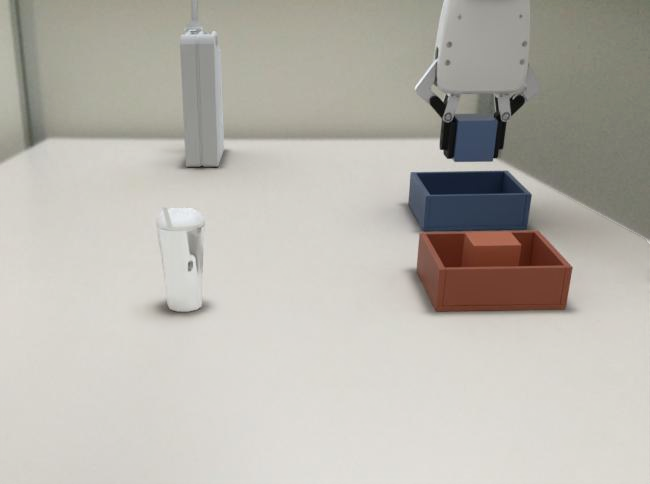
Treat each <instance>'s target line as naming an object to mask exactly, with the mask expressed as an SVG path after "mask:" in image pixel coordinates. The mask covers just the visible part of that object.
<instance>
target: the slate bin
mask: <svg viewBox="0 0 650 484" xmlns="http://www.w3.org/2000/svg"><path fill="white" fill-rule="evenodd" d="M408 189H409V190H408V201H407V202H408V203H407V204H408V207H409V208H410V210H411V212H412V215H414V217H415V219H416V221H417V223H418V225H419V226H420V228H421V230H422V231H423V232H455V231H514V230H528V225H529V216H530V212H531V211H530V210H531V202H532V196H533V195H532V194H533V193H531V192H530V191H529V190H528V188H526V187H525V186H524V185H523V184H522V183H521V182H520V181H519V180H518V179H517V178H516V177H515V176H514V175H513V174H512V173H511V172H510V171H509V170H506V169H505V170H459V171H457V170H456V171H455V170H452V171H449V170H448V171H411V172H410V174H409V188H408Z"/></svg>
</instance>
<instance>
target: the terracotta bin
mask: <svg viewBox="0 0 650 484" xmlns="http://www.w3.org/2000/svg"><path fill="white" fill-rule="evenodd" d="M466 232H467V231H423V232H422V231H421V232H419V235H418V245H417V246H418V247H417V248H418V249H417V257H416V258H417V260H416V269H415V271H416V273H417V275H418V277H419V279H420V281H421V284H422V285H423V288H424V289H425V292H426V293H427V296H428V298H429V300H430V302H431V304H432V306H433V309H434V310H435V312H471V311H472V312H473V311H474V312H478V311H482V312H483V311H532V310H533V311H539V310H566V309H567V303H568V297H569V292H570V285H571V280H572V274H573V266H572V264H571V263H569V261H568V260H567V259H566V258H565V257H564V256H563V255H562V254H561V253H560V252H559V251H558V250H557V249H556V248H555V246H554V245H553V244H552V242H550V241H549V239H547V238H546V237H545V235H544V234H543V233H542V232H541V231H540V230H538V229H537V230H477V232H511V233H512V234H513V235H514V237H515V238H516V239H517V240H518V241H519V243H520V244H521V252H520V259H519V266H503V267H461V265H462V256H463V246H464V237H465V233H466Z"/></svg>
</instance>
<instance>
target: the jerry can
mask: <svg viewBox="0 0 650 484" xmlns="http://www.w3.org/2000/svg"><path fill="white" fill-rule="evenodd" d="M190 16H191V17H190V19H191V20H190V21H189V22H188V23H185V28H184V30H183V32H184V34H181V35H180V36H179V52H180V54H179V55H180V71H181V90H182V91H181V95H182V112H183V113H182V115H183V133H184V137H183V138H184V155H185V156H184V157H185V167H186V168H195V167H196V168H201V167H203V168H208V167H209V168H211V167H212V168H216V167H219V166H220V162H221V159H222V157H223V153H224V150H225V139H224V138H225V136H224V135H225V134H224V101H223V99H224V98H223V66H222V65H223V64H222V63H223V62H222V51H221V47H220V45H219V42H218V41H219V40H218V32H217V31H216V30H213V31H212V32H210V33H207V32H205V31H204V27H203V23H201V22H200V21H199V0H190Z"/></svg>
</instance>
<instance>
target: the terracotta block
mask: <svg viewBox="0 0 650 484" xmlns="http://www.w3.org/2000/svg"><path fill="white" fill-rule="evenodd" d="M465 232H466V233H465V237H464V246H463V256H462V265H461V267H503V266H519V259H520V252H521V244H520V243H519V241H518V240H517V239H516V238H515V237H514V235H513V234H512V233H511V232H478V231H465Z"/></svg>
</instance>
